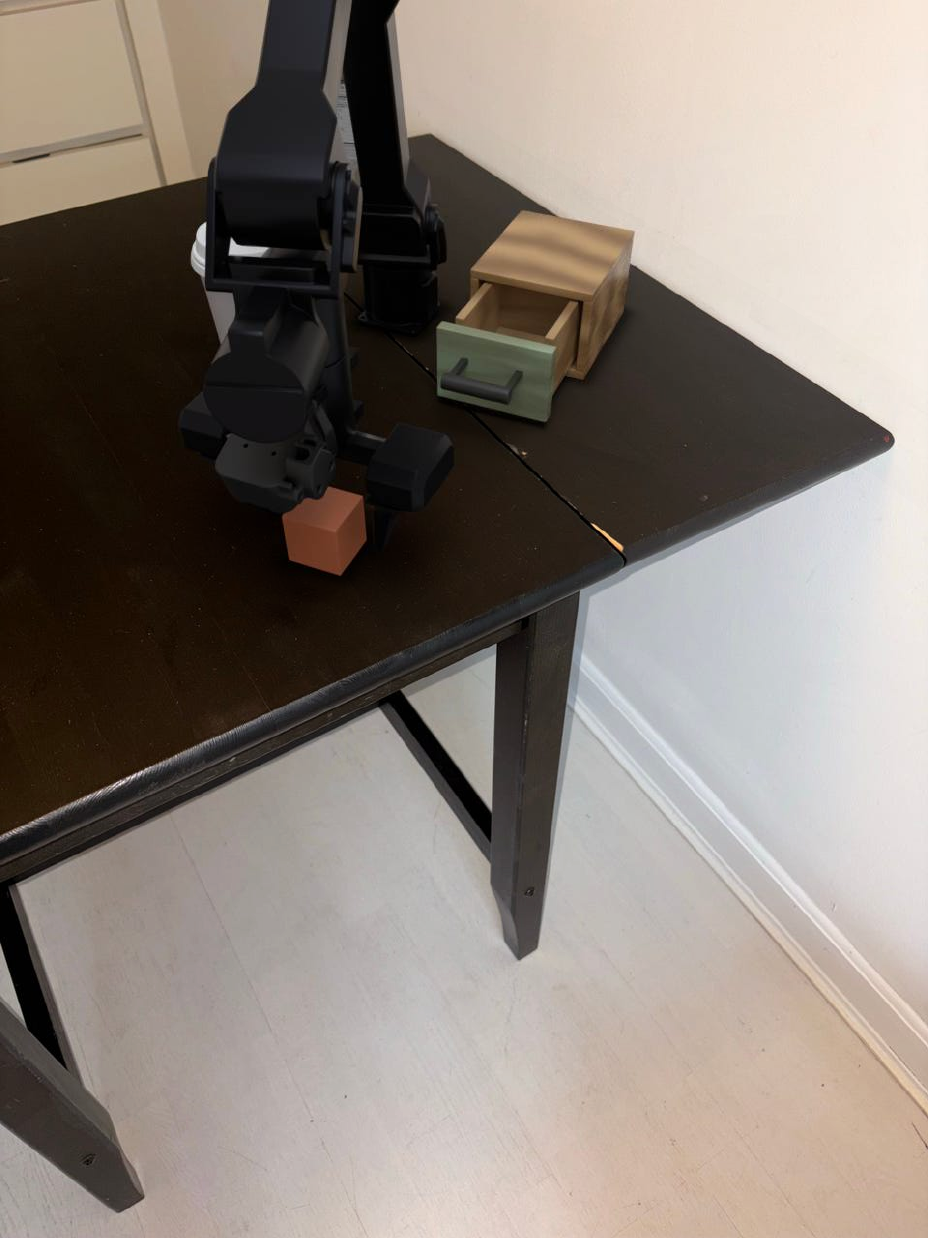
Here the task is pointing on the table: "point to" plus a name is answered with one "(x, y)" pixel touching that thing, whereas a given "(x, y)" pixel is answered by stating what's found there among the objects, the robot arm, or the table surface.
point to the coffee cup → (219, 301)
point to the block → (326, 530)
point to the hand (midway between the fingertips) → (326, 532)
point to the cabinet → (564, 271)
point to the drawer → (508, 349)
